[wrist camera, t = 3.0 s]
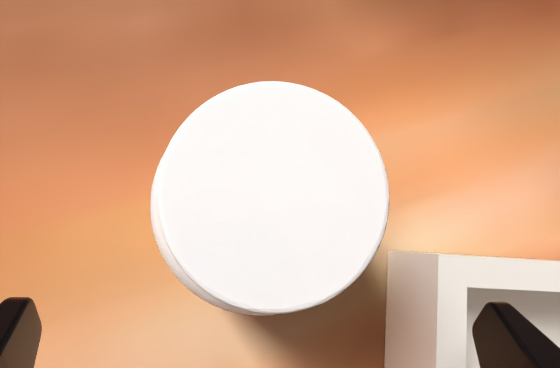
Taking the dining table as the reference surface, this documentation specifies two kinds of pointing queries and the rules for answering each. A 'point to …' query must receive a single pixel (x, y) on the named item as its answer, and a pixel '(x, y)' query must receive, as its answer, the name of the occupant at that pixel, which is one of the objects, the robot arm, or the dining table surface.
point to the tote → (460, 303)
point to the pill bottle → (269, 199)
